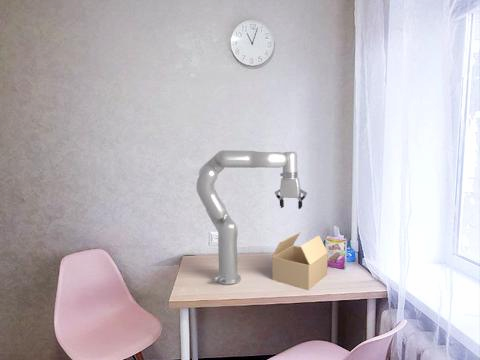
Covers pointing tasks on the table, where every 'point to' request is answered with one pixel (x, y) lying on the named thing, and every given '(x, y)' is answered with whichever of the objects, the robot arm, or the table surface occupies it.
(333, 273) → the table surface
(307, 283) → the carton
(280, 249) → the far flap
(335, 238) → the candy bar box
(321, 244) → the near flap
